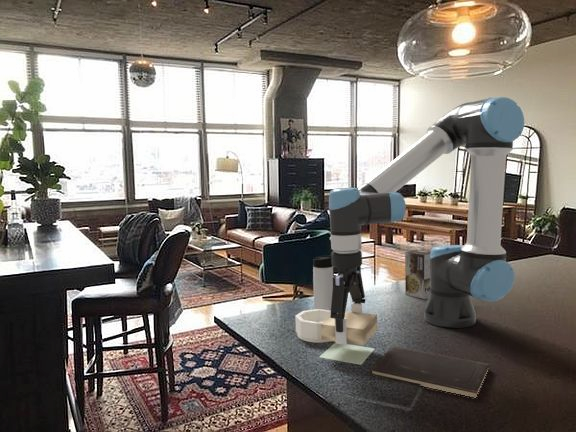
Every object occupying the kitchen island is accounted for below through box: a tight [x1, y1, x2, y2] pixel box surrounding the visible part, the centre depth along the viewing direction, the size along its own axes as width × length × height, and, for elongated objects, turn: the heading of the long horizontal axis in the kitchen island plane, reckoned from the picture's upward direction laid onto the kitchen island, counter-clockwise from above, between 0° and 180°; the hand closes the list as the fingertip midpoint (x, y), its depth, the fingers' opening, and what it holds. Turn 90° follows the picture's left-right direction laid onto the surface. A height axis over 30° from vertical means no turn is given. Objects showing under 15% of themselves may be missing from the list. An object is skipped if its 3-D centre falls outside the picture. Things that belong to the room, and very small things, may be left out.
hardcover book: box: [369, 345, 491, 399], centre depth 110 cm, size 16×23×2 cm
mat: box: [319, 341, 376, 366], centre depth 122 cm, size 11×11×1 cm
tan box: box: [321, 310, 378, 346], centre depth 121 cm, size 11×11×4 cm
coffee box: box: [404, 249, 431, 300], centre depth 173 cm, size 9×6×16 cm
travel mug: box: [312, 254, 334, 310], centre depth 150 cm, size 6×7×20 cm
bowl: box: [294, 308, 331, 344], centre depth 135 cm, size 12×12×6 cm
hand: (349, 335), depth 121 cm, fingers closed on tan box, 11 cm apart
